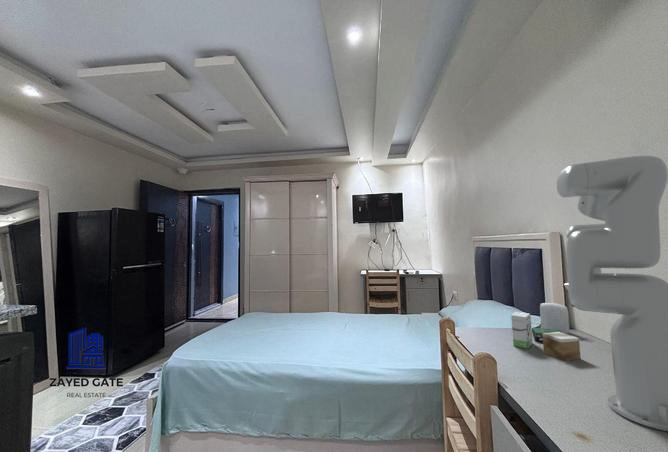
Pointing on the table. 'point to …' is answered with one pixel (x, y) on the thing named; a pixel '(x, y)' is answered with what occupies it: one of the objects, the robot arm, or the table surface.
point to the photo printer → (554, 317)
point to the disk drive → (541, 333)
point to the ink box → (521, 329)
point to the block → (561, 346)
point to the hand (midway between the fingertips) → (588, 306)
